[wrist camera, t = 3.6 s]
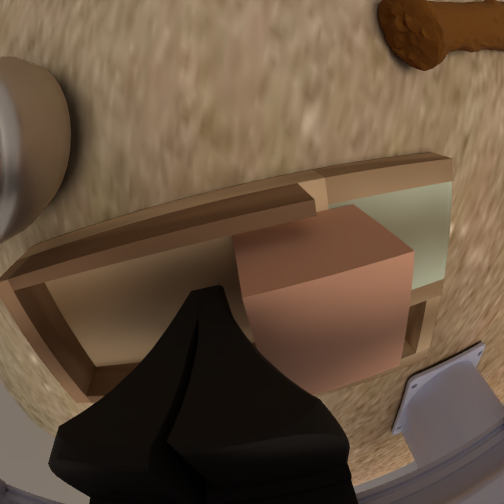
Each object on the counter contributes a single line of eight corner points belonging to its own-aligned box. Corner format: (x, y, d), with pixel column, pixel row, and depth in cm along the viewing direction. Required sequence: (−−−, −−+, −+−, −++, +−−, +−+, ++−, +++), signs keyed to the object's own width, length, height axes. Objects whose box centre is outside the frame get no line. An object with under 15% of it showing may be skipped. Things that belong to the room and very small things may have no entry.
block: (357, 301, 12) (399, 365, 9) (257, 329, 12) (273, 405, 9) (353, 204, 10) (414, 250, 7) (231, 232, 10) (242, 297, 7)
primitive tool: (536, 1, 6) (566, 1, 3) (557, 65, 9) (589, 70, 5) (356, 3, 9) (397, -22, 5) (406, 113, 11) (457, 120, 8)
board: (415, 343, 17) (441, 380, 13) (131, 406, 17) (124, 449, 13) (431, 152, 11) (484, 169, 8) (33, 246, 11) (-7, 284, 8)
